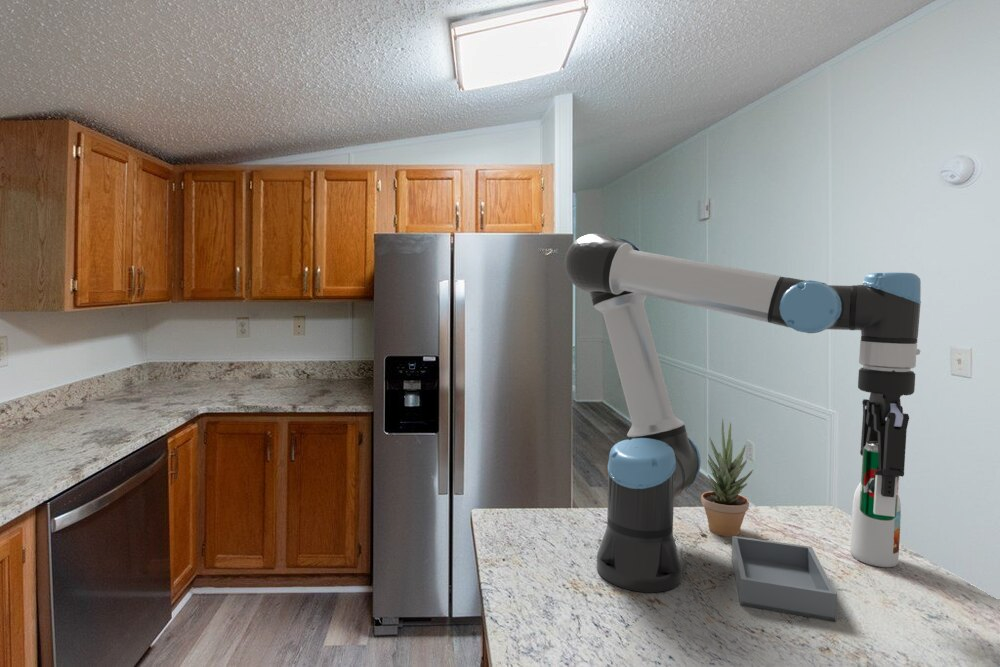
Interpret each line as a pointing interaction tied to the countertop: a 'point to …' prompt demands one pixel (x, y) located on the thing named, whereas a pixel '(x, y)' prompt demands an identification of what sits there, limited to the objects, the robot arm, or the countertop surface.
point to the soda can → (871, 482)
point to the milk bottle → (874, 536)
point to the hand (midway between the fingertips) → (877, 508)
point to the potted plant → (726, 490)
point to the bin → (782, 578)
